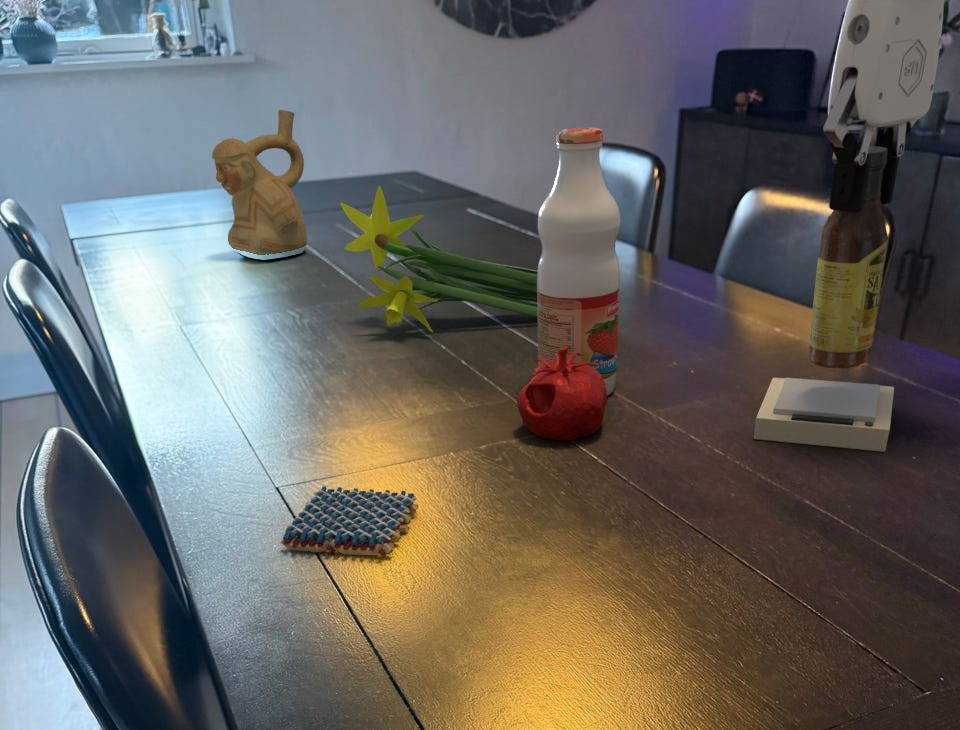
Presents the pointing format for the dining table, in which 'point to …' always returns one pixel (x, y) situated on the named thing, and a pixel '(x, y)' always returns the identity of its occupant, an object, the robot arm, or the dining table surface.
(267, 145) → the ceramic vessel
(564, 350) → the pomegranate
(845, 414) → the scale
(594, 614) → the dining table surface
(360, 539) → the woven mat
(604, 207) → the fruit juice
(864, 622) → the dining table surface
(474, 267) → the daffodil flowers
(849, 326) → the sauce bottle
